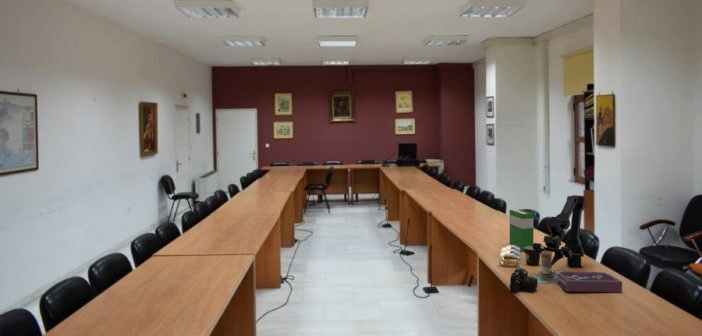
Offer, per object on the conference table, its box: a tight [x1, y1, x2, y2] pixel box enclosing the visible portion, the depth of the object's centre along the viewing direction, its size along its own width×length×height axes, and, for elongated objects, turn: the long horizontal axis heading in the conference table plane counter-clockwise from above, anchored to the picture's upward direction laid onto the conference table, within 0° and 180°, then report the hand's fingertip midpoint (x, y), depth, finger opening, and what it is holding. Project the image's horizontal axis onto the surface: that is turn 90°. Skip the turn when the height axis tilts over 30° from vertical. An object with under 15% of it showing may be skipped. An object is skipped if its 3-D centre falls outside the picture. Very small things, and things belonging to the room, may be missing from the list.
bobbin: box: [539, 250, 555, 279], centre depth 254 cm, size 7×7×12 cm
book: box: [553, 270, 623, 293], centre depth 243 cm, size 25×16×5 cm, turn 88°
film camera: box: [509, 267, 539, 295], centre depth 243 cm, size 18×12×10 cm
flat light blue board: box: [531, 274, 558, 285], centre depth 256 cm, size 14×14×1 cm
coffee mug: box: [524, 246, 541, 267], centre depth 285 cm, size 12×9×10 cm
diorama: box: [499, 244, 521, 269], centre depth 291 cm, size 25×10×13 cm, turn 160°
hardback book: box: [509, 209, 534, 253], centre depth 322 cm, size 18×7×24 cm, turn 7°
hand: (546, 264), depth 254 cm, fingers closed on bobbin, 4 cm apart
